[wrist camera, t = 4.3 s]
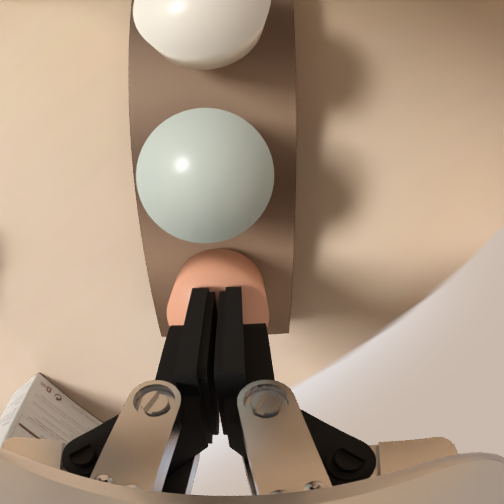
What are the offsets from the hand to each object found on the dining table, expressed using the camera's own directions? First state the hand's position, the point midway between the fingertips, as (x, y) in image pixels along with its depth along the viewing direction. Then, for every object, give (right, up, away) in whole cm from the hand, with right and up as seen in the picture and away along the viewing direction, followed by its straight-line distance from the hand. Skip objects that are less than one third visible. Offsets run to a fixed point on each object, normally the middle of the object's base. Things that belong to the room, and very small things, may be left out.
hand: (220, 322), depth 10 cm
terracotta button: (0, +1, +2) cm, 2 cm away
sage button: (0, +5, -1) cm, 5 cm away
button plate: (0, +6, +1) cm, 6 cm away
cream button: (0, +10, -3) cm, 10 cm away
